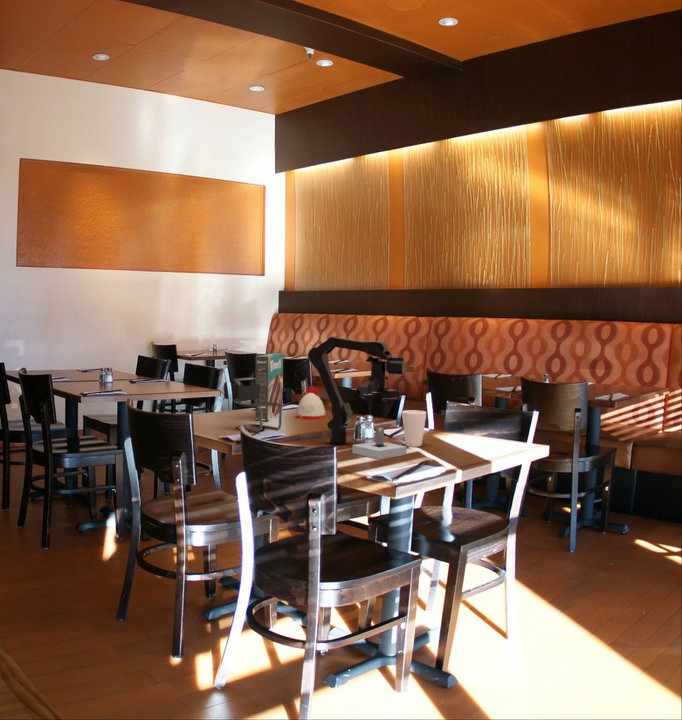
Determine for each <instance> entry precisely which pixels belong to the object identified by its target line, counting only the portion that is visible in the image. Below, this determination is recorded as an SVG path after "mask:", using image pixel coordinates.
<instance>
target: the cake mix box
mask: <svg viewBox="0 0 682 720" xmlns="http://www.w3.org/2000/svg"><path fill="white" fill-rule="evenodd" d="M283 363H284V354H283V353H274V352H272V353H270V352H269V353H265V354H261V355H257V356H255V377H257V378H258V379H259V381H260V400H261V401H264V402H271V403H278V404H279V405H280V406H281V409H282V410H283V406H284V405H283V404H284V403H283V402H284V401H283V397H284V396H283V395H284V394H283V392H284V391H283V387H284V383H283V381H284V379H283V378H284V364H283ZM255 385H257V380H255ZM254 401H255V403H258V402H259V401H258V399H254ZM259 407H260V408H261V409H262V419H265V420H262V423H269V422H271V421H273V420H275V418H276V419H277V417H278V418H279V415H278V414H279V408H278V406H273V405H271V406H259ZM254 410H255V413H254V416H255V417H254V418H257V419H254V420H255V421H254V422H257V421H260V411H259V409H256V408H254ZM276 415H277V416H276ZM274 416H275V417H274ZM272 417H273V418H272ZM270 418H271V419H270Z"/></svg>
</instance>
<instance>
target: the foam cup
mask: <svg viewBox="0 0 682 720" xmlns="http://www.w3.org/2000/svg"><path fill="white" fill-rule="evenodd" d="M401 413H402V414H401V416H402V423H403V425H402V426H403V435H404V443H405V444H404V445H405V446H406V447H412V448H413V447H415V448H416V447H421V446H422V444H423V438H424V430H425V425H426V420H427V411H424V410H417V409H415V410H412V409H411V410H403V411H402V412H401Z"/></svg>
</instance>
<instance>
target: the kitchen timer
mask: <svg viewBox="0 0 682 720" xmlns="http://www.w3.org/2000/svg"><path fill="white" fill-rule="evenodd" d="M308 387H309V388H305V390H302V391H303V395H304V396H303V397H302V398H301V400H300V401H299V404H298V406H297V409H296V419H299V418H303V419H302V420H307V419H316V420H321V419H320V418H324V419H326V409H325V406H324V402H323V401H322V399H321V398H320V397H319V396H318V395H319V393H320V391H321V389H319V390H318V387H317V386H316V387H315V388H314V386H312V388H311V386H310V385H309V386H308ZM305 391H306V392H305ZM297 415H298V416H297ZM300 416H303V417H300ZM321 416H323V417H321Z"/></svg>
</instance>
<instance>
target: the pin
mask: <svg viewBox="0 0 682 720" xmlns="http://www.w3.org/2000/svg"><path fill="white" fill-rule="evenodd" d="M384 436H385V427H376V428H375V442H376V446H375V447H384V442H385V437H384Z"/></svg>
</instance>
